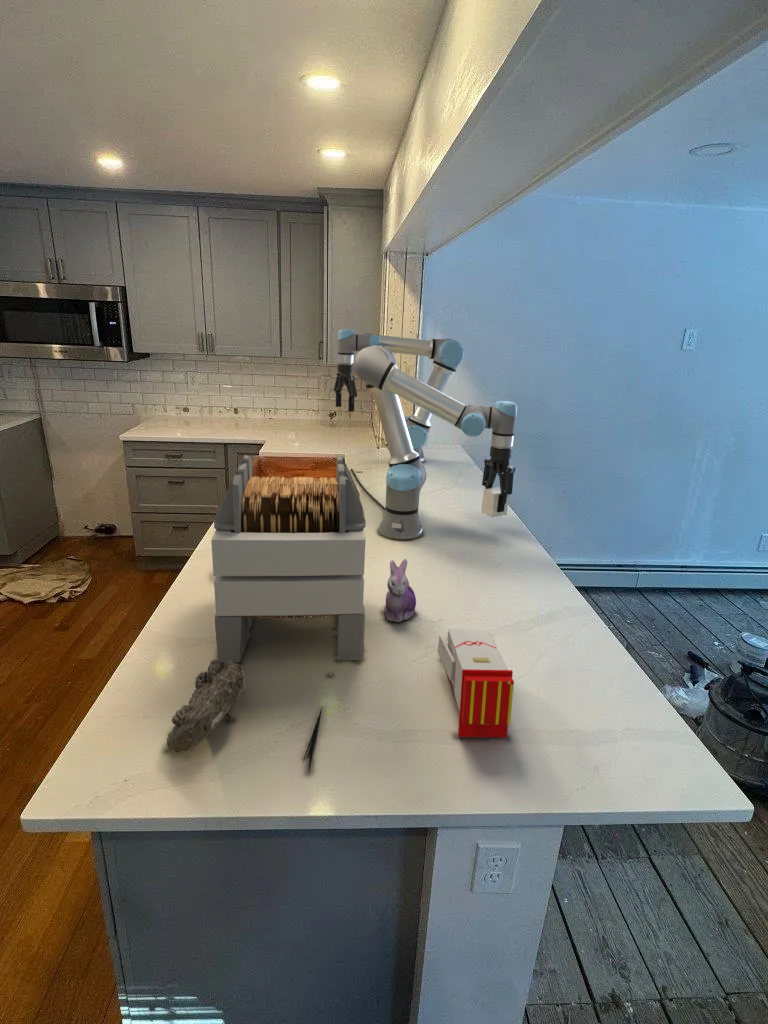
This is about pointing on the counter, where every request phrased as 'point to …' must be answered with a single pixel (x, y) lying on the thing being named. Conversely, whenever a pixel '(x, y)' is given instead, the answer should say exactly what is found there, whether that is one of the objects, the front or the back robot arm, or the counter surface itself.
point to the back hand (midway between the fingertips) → (344, 409)
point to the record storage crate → (289, 556)
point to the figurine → (399, 594)
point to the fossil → (206, 705)
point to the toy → (478, 682)
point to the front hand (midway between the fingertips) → (494, 508)
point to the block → (492, 502)
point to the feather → (313, 740)
